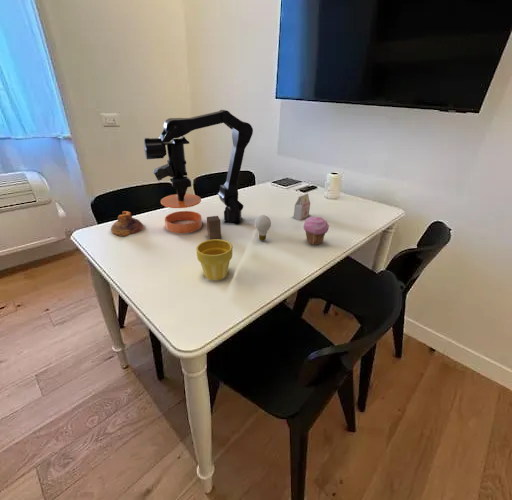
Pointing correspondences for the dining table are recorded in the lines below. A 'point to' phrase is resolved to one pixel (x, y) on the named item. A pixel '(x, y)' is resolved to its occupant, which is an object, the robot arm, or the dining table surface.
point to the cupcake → (315, 229)
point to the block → (214, 227)
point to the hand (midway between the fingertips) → (181, 199)
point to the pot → (183, 227)
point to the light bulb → (262, 226)
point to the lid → (175, 202)
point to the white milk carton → (302, 207)
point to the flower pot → (214, 258)
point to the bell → (126, 225)
